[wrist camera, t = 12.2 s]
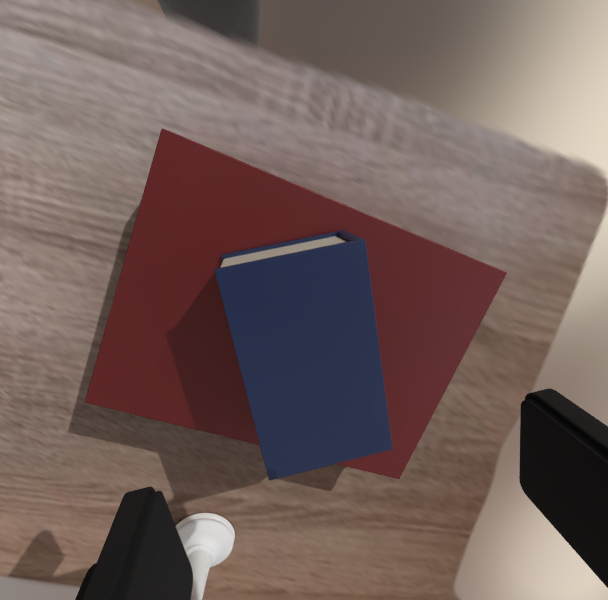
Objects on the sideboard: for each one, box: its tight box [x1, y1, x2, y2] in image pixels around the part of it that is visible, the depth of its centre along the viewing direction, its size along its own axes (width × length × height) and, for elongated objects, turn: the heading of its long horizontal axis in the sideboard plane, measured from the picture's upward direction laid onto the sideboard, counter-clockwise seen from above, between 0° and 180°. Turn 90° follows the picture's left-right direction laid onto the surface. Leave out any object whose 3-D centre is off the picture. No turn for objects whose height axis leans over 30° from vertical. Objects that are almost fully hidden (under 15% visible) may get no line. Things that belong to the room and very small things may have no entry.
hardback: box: [85, 129, 507, 479], centre depth 23 cm, size 20×15×4 cm
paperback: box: [215, 230, 393, 480], centre depth 19 cm, size 11×6×4 cm, turn 10°
